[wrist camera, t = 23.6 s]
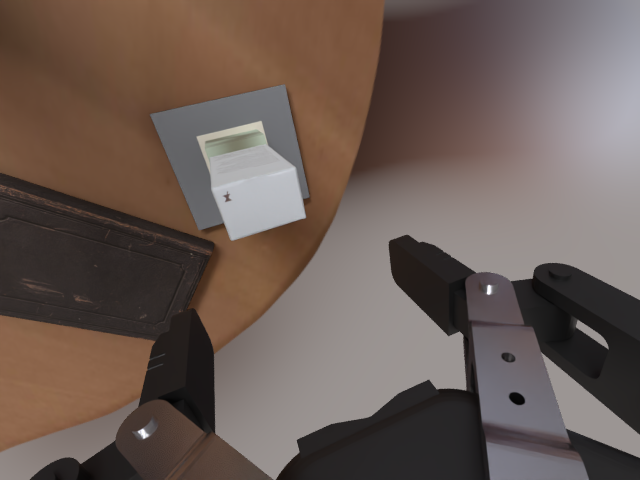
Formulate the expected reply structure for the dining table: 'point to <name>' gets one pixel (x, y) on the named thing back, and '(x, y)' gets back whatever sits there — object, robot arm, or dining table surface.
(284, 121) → the base plate
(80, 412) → the dining table surface
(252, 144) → the green block
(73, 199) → the hardcover book
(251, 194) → the skincare box
